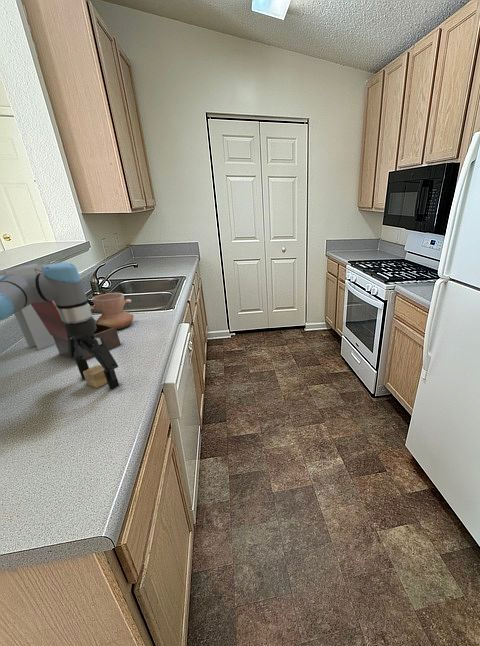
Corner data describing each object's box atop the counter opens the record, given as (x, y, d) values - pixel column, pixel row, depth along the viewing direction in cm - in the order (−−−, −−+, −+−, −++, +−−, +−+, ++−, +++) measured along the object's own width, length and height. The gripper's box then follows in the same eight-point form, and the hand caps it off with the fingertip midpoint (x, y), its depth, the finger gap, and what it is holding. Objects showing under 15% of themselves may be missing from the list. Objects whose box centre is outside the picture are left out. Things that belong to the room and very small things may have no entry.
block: (87, 385, 103) (82, 371, 101) (102, 378, 107) (97, 364, 105) (97, 389, 101) (92, 375, 99) (112, 381, 105) (108, 367, 103)
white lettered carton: (38, 351, 127) (5, 272, 113) (29, 349, 129) (-5, 271, 115) (73, 337, 139) (46, 264, 125) (63, 335, 141) (36, 263, 127)
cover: (26, 292, 110) (23, 293, 109) (49, 296, 104) (46, 298, 104) (53, 333, 120) (50, 335, 119) (75, 340, 114) (73, 341, 113)
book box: (99, 340, 135) (93, 322, 132) (121, 345, 130) (115, 327, 126) (60, 355, 123) (52, 336, 120) (82, 362, 117) (74, 342, 114)
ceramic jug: (133, 318, 158) (125, 289, 151) (140, 327, 147) (132, 296, 141) (90, 327, 149) (80, 296, 142) (94, 337, 138) (83, 304, 132)
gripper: (118, 321, 92) (137, 386, 102) (66, 309, 103) (88, 369, 112) (92, 330, 86) (115, 398, 96) (39, 317, 97) (65, 379, 106)
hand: (100, 383), depth 104 cm, fingers open, 13 cm apart
